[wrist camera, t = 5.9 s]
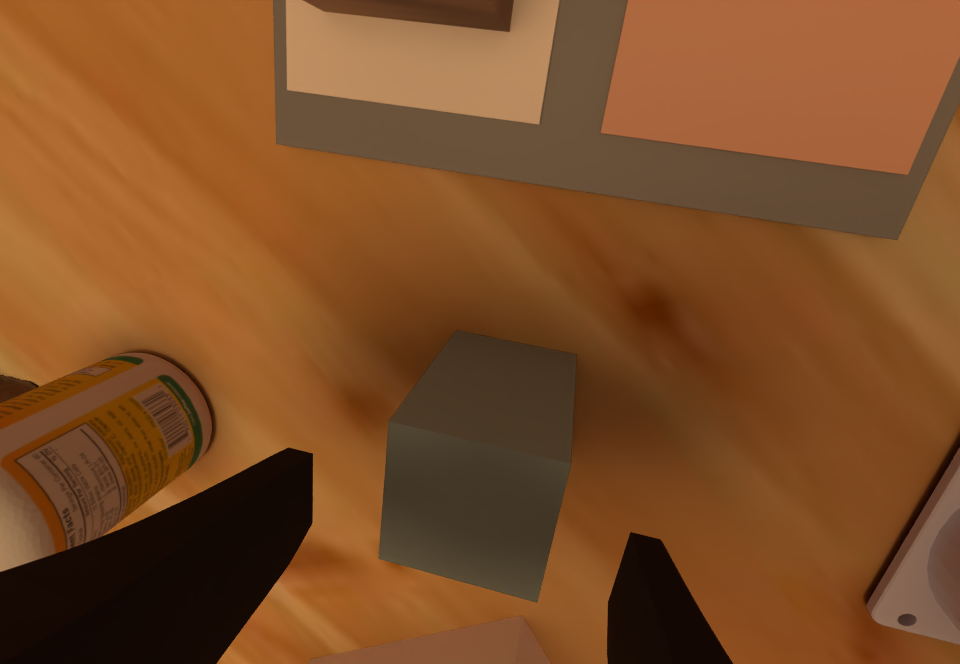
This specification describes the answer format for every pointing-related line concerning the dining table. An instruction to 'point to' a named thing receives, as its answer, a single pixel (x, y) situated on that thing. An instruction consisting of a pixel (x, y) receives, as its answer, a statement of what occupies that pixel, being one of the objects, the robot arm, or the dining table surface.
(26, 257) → the dining table surface
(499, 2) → the walnut block
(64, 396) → the supplement bottle
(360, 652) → the milk
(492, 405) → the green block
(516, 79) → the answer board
